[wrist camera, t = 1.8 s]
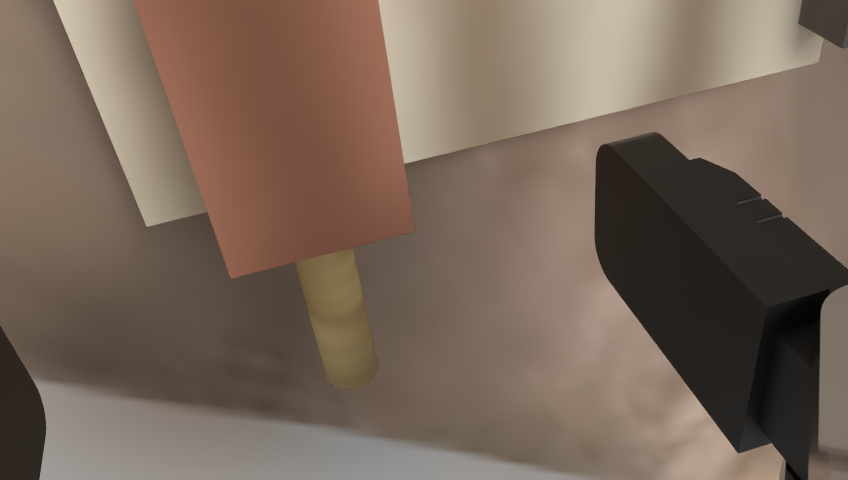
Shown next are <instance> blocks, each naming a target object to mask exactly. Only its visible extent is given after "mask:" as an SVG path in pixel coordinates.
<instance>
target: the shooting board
mask: <svg viewBox="0 0 848 480" xmlns="http://www.w3.org/2000/svg"><path fill="white" fill-rule="evenodd" d="M53 1H54V3H55V6H56V8H57V10H58V13H59V15H60V18H61V20H62V23H63V25H64V27H65V30H66V32H67V35H68V37H69V40H70V42H71V44H72V47H73V49H74V52H75V54H76V57H77V59H78V61H79V64H80V66H81V69H82V71H83V73H84V76H85V78H86V81H87V83H88V86H89V88H90V90H91V93H92V95H93V98H94V100H95V103H96V105H97V107H98V110H99V112H100V115H101V117H102V120H103V122H104V124H105V127H106V129H107V132H108V134H109V137H110V139H111V141H112V144H113V146H114V149H115V151H116V154H117V156H118V158H119V161H120V163H121V166H122V168H123V170H124V173H125V175H126V178H127V180H128V183H129V185H130V187H131V190H132V192H133V195H134V197H135V200H136V202H137V204H138V207H139V209H140V212H141V214H142V217H143V219H144V221H145V224H146V226H147V227H148V226H152V225H156V224H161V223H165V222H169V221H173V220H177V219H181V218H185V217H189V216H193V215H197V214H201V213H206V212H207V209H206V206H205V204H204V201H203V198H202V195H201V192H200V189H199V186H198V184H197V181H196V178H195V175H194V172H193V169H192V166H191V164H190V161H189V158H188V155H187V152H186V149H185V146H184V144H183V141H182V138H181V135H180V132H179V129H178V126H177V124H176V121H175V118H174V115H173V112H172V109H171V106H170V104H169V101H168V98H167V95H166V92H165V89H164V86H163V84H162V81H161V78H160V75H159V72H158V69H157V66H156V64H155V61H154V58H153V55H152V52H151V49H150V46H149V44H148V41H147V38H146V35H145V32H144V29H143V26H142V24H141V21H140V18H139V15H138V12H137V9H136V6H135V4H134V1H133V0H53ZM378 1H379V8H380V14H381V20H382V27H383V33H384V39H385V46H386V52H387V58H388V65H389V71H390V77H391V83H392V90H393V96H394V102H395V109H396V115H397V121H398V128H399V134H400V140H401V146H402V153H403V159H404V164H406V163H410V162H414V161H418V160H422V159H426V158H430V157H434V156H438V155H442V154H447V153H451V152H455V151H459V150H463V149H467V148H471V147H475V146H479V145H483V144H487V143H492V142H496V141H500V140H504V139H508V138H512V137H516V136H520V135H524V134H528V133H532V132H536V131H541V130H545V129H549V128H553V127H557V126H561V125H565V124H569V123H573V122H577V121H581V120H585V119H590V118H594V117H598V116H602V115H606V114H610V113H614V112H618V111H622V110H626V109H630V108H635V107H639V106H643V105H647V104H651V103H655V102H659V101H663V100H667V99H671V98H675V97H679V96H684V95H688V94H692V93H696V92H700V91H704V90H708V89H712V88H716V87H720V86H724V85H729V84H733V83H737V82H741V81H745V80H749V79H753V78H757V77H761V76H765V75H769V74H773V73H778V72H782V71H786V70H790V69H794V68H798V67H802V66H806V65H810V64H814V63H818V62H819V59H820V53H821V48H822V43H823V38H825V39H826V40H828V41H830V42H832V43H834V44H835V45H837V46H839V47H841V48H847V47H848V0H378Z"/></svg>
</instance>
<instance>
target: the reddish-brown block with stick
mask: <svg viewBox="0 0 848 480" xmlns="http://www.w3.org/2000/svg"><path fill="white" fill-rule="evenodd" d="M133 1H134V4H135V6H136V9H137V12H138V15H139V18H140V21H141V24H142V26H143V29H144V32H145V35H146V38H147V41H148V44H149V46H150V49H151V52H152V55H153V58H154V61H155V64H156V66H157V69H158V72H159V75H160V78H161V81H162V84H163V86H164V89H165V92H166V95H167V98H168V101H169V104H170V106H171V109H172V112H173V115H174V118H175V121H176V124H177V126H178V129H179V132H180V135H181V138H182V141H183V144H184V146H185V149H186V152H187V155H188V158H189V161H190V164H191V166H192V169H193V172H194V175H195V178H196V181H197V184H198V186H199V189H200V192H201V195H202V198H203V201H204V204H205V206H206V209H207V212H208V215H209V218H210V221H211V224H212V226H213V229H214V232H215V235H216V238H217V241H218V244H219V247H220V249H221V252H222V255H223V258H224V261H225V264H226V267H227V269H228V272H229V275H230V278H231V279H232V278H236V277H240V276H244V275H248V274H252V273H255V272H259V271H263V270H267V269H271V268H275V267H279V266H283V265H287V264H290V263H295V266H296V270H297V274H298V277H299V281H300V284H301V288H302V291H303V295H304V298H305V302H306V306H307V309H308V313H309V316H310V320H311V323H312V327H313V330H314V334H315V337H316V341H317V345H318V348H319V352H320V355H321V359H322V362H323V366H324V369H325V373H326V376H327V379H328V381H329V382H330V383H331V384H332V385H334V386H336V387H338V388H342V389H353V388H358V387H361V386H363V385H365V384H367V383H368V382H369V381H371V380H372V379H373V378H374V376H375V375H376V373H377V371H378V361H377V356H376V352H375V347H374V343H373V338H372V334H371V329H370V325H369V320H368V315H367V311H366V306H365V302H364V297H363V293H362V288H361V284H360V279H359V275H358V270H357V266H356V261H355V257H354V252H353V247H357V246H360V245H364V244H368V243H372V242H376V241H380V240H384V239H388V238H392V237H395V236H399V235H403V234H407V233H411V232H415V228H414V222H413V216H412V210H411V203H410V197H409V191H408V184H407V178H406V172H405V165H404V159H403V153H402V146H401V140H400V134H399V128H398V121H397V115H396V109H395V102H394V96H393V90H392V83H391V77H390V71H389V65H388V58H387V52H386V46H385V39H384V33H383V27H382V20H381V14H380V8H379V1H378V0H133Z"/></svg>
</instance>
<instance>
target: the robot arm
mask: <svg viewBox="0 0 848 480" xmlns="http://www.w3.org/2000/svg"><path fill="white" fill-rule="evenodd" d="M595 245H596V251H597V255H598V258H599V262H600V264H601V267H602V269H603V271H604V273H605V275H606V277H607V279H608V280H609V281H610V283H611V284H612V285H613V287H614V288H615V289H616V291H617V292H618V293H619V295H620V296H621V298H622V299H623V300H624V302H625V303H626V304H627V306H628V307H629V308H630V310H631V311H632V312H633V314H634V315H635V316H636V318H637V319H638V320H639V322H640V323H641V324H642V326H643V327H644V328H645V330H646V331H647V332H648V334H649V335H650V336H651V338H652V339H653V340H654V342H655V343H656V344H657V346H658V347H659V348H660V350H661V351H662V352H663V354H664V355H665V356H666V358H667V359H668V360H669V362H670V363H671V364H672V366H673V367H674V368H675V370H676V371H677V372H678V374H679V375H680V376H681V378H682V379H683V380H684V382H685V383H686V384H687V386H688V387H689V388H690V390H691V391H692V392H693V394H694V395H695V396H696V398H697V399H698V400H699V402H700V403H701V404H702V406H703V407H704V408H705V410H706V411H707V412H708V414H709V415H710V416H711V418H712V419H713V420H714V422H715V423H716V424H717V426H718V427H719V428H720V430H721V431H722V432H723V434H724V435H725V436H726V438H727V439H728V440H729V442H730V443H731V444H732V446H733V447H734V448H735V450H736V451H737V452H738V453H742V452H745V451H748V450H751V449H754V448H757V447H760V446H763V445H766V444H770V443H772V444H773V445H774V446H775V448H776V449H777V450H778V451H779V453H780V454H781V455H782V456H783V458H784V459H783V463H782V467H781V472H780V480H848V269H847V268H846V267H844V266H843V265H842V264H841V263H840V262H839V261H837V260H836V259H835V258H834V257H833V256H832V255H830V254H829V253H828V252H827V251H826V250H825V249H823V248H822V247H821V246H820V245H819V244H818V243H816V242H815V241H814V240H813V239H812V238H811V237H809V236H808V235H807V234H806V233H805V232H804V231H803V230H801V229H800V228H799V227H798V226H797V225H796V224H794V223H793V222H792V221H791V220H790V219H789V218H787V217H786V218H783V217H782V212H780V211H779V210H778V209H777V208H776V207H775V206H773V205H772V204H771V203H770V202H769V201H768V200H766V199H764V200H762V199H761V194H759V193H758V192H757V191H756V190H755V189H754V188H752V187H751V186H750V185H749V184H748V183H747V182H745V181H744V180H743V179H742V178H741V177H740V176H738V175H737V174H736V173H734V172H732V171H730V170H727V169H725V168H723V167H720V166H718V165H716V164H713V163H711V162H709V161H706V160H704V159H702V158H697V159H693V160H688V159H687V158H686V157H685V156H684V155H683V154H682V153H681V152H680V151H678V150H677V149H676V148H675V147H674V146H673V145H672V144H671V143H670V142H669V141H667V140H666V139H665V138H664V137H663V136H662V135H660V134H659V133H656V132H652V133H648V134H644V135H640V136H636V137H632V138H628V139H624V140H620V141H616V142H612V143H608V144H604V145H602V146H601V147H600V148H599V150H598V152H597V157H596V186H595ZM45 436H46V419H45V413H44V407H43V404H42V400H41V397H40V394H39V392H38V389H37V387H36V385H35V383H34V382H33V380H32V378H31V377H30V375H29V373H28V371H27V370H26V368H25V366H24V365H23V363H22V361H21V360H20V358H19V356H18V355H17V353H16V351H15V350H14V348H13V346H12V345H11V343H10V341H9V340H8V338H7V336H6V335H5V333H4V331H3V330H2V328H1V326H0V480H39V478H40V471H41V464H42V457H43V450H44V443H45Z"/></svg>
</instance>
